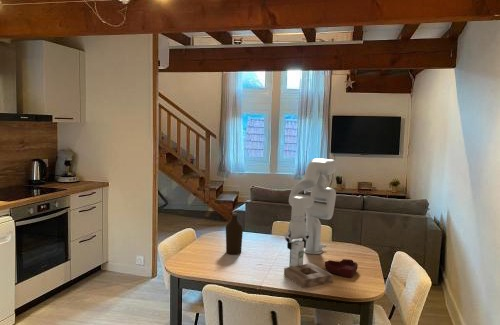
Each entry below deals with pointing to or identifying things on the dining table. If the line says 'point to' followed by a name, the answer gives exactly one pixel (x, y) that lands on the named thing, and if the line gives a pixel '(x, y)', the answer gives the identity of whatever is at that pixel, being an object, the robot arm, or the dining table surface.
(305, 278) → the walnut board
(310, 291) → the dining table surface
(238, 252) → the olive oil
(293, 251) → the syrup box
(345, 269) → the ashtray
